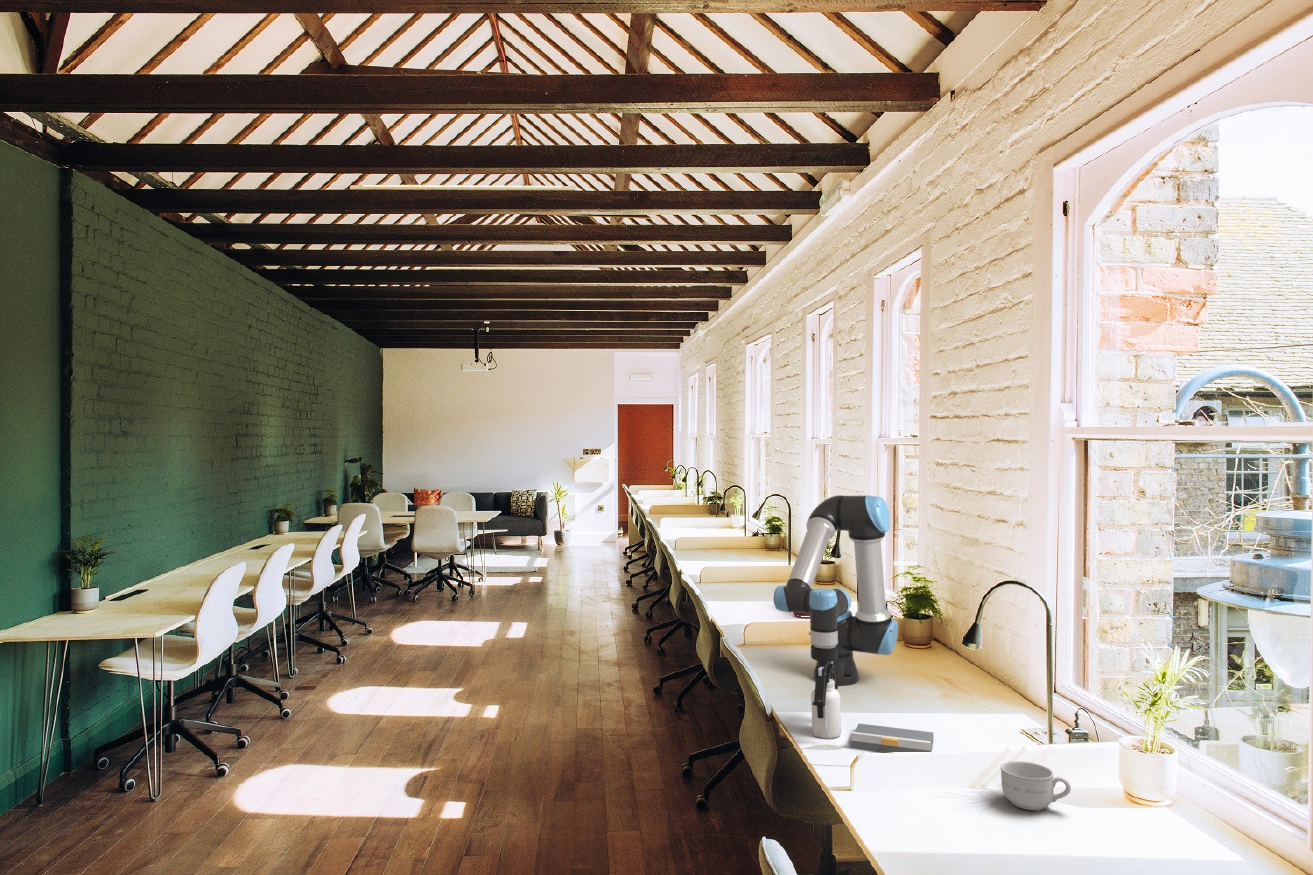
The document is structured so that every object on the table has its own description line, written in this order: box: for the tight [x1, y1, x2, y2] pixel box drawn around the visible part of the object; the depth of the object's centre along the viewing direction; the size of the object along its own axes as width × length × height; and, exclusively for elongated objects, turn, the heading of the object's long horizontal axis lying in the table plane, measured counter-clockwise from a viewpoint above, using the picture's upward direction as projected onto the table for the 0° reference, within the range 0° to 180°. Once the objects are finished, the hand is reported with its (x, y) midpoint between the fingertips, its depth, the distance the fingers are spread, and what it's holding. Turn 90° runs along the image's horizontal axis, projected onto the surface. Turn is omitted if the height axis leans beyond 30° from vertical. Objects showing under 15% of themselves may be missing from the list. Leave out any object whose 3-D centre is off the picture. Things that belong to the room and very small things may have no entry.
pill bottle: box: [810, 679, 842, 739], centre depth 211 cm, size 8×8×15 cm
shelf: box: [850, 722, 934, 753], centre depth 203 cm, size 14×20×4 cm
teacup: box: [999, 760, 1072, 811], centre depth 167 cm, size 14×11×8 cm
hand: (826, 720), depth 211 cm, fingers open, 13 cm apart
